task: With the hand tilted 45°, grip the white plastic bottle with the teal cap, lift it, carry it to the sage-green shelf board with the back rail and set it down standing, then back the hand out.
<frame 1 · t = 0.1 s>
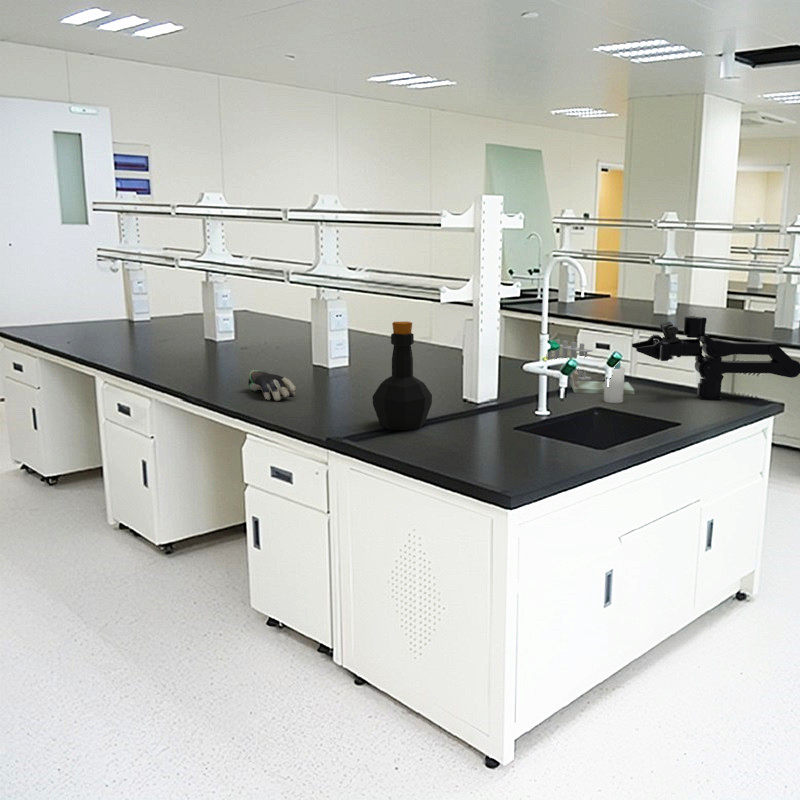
hand: (634, 347, 273), 17 cm above the countertop, tool horizontal, fingers open, 9 cm apart
white bottle: (613, 401, 269), on the countertop
bottle: (402, 426, 237), on the countertop
test tube rack: (564, 375, 316), on the countertop
glove: (272, 396, 278), on the countertop
shelf board: (601, 389, 287), on the countertop
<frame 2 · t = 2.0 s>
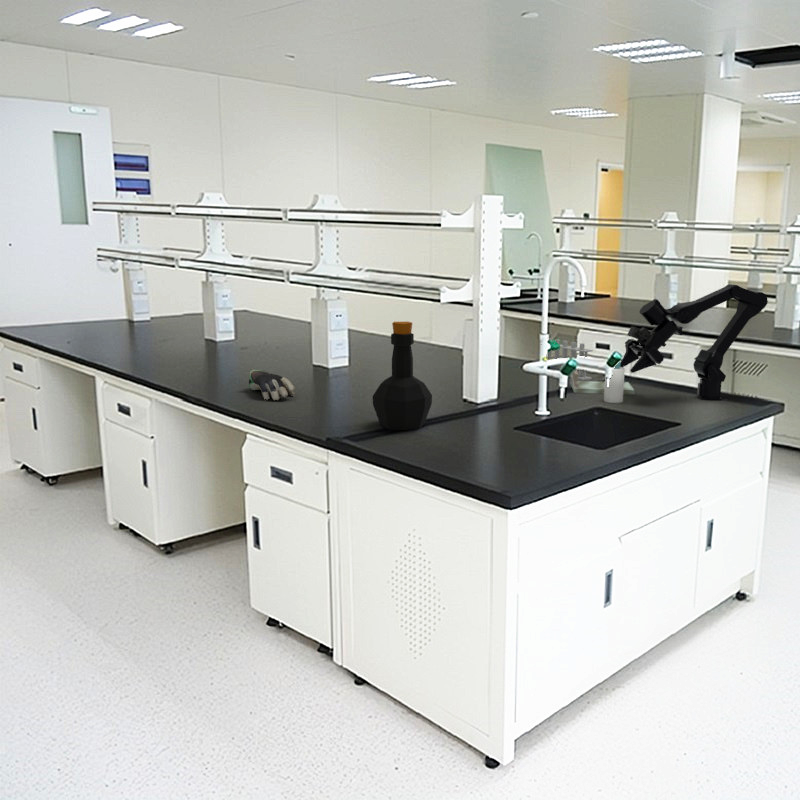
hand: (625, 369, 267), 10 cm above the countertop, tool tilted 45°, fingers open, 9 cm apart
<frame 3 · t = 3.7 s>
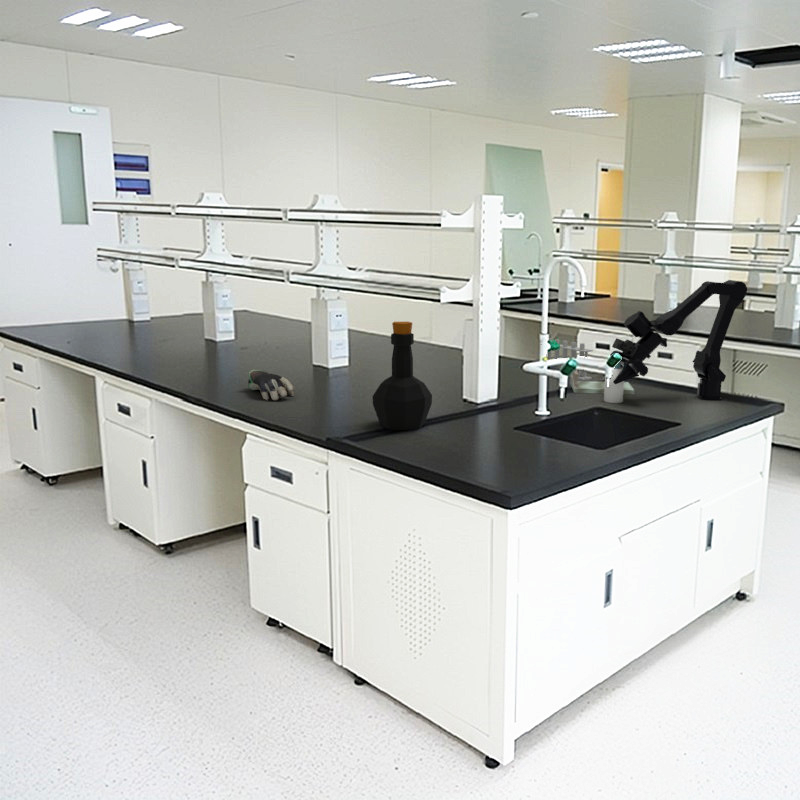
hand: (610, 381, 267), 7 cm above the countertop, tool tilted 45°, fingers closed on white bottle, 6 cm apart
white bottle: (613, 401, 269), on the countertop, touching gripper
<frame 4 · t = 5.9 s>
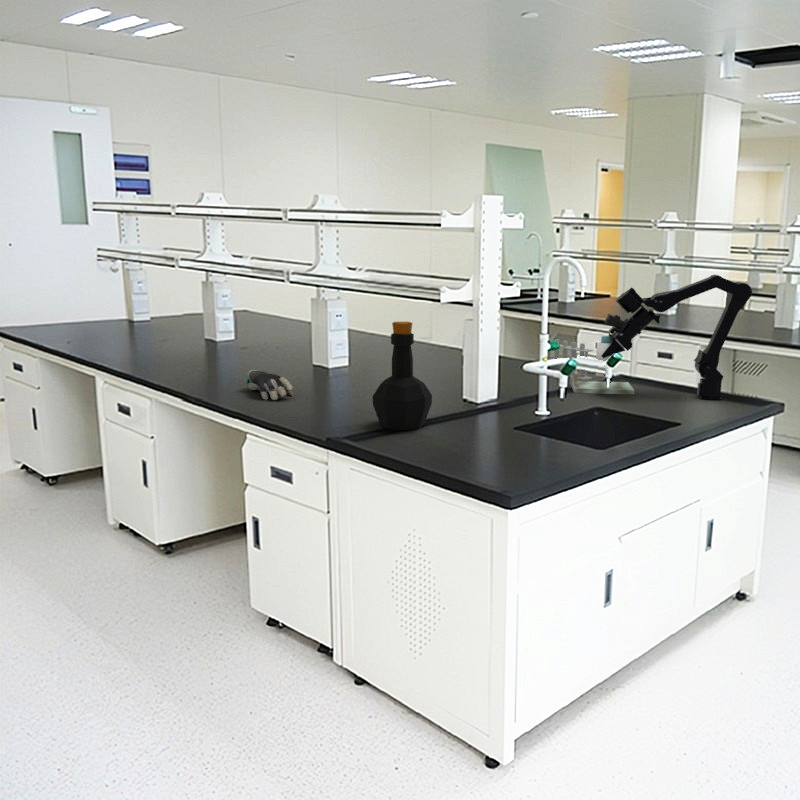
hand: (601, 355, 275), 14 cm above the countertop, tool tilted 45°, fingers closed on white bottle, 6 cm apart
white bottle: (604, 375, 276), point 7 cm above the countertop, touching gripper
when the fingers open (9 cm above the countertop, at t = 8.0 s): white bottle drops 1 cm, resting on shelf board.
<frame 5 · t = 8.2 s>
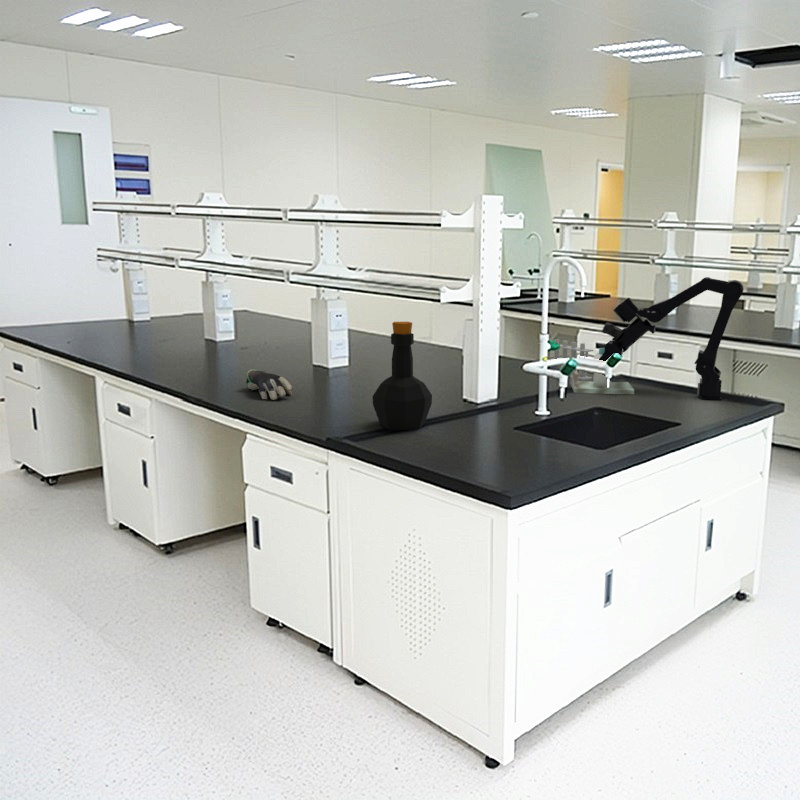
hand: (599, 362, 285), 10 cm above the countertop, tool tilted 45°, fingers open, 8 cm apart
white bottle: (601, 385, 287), point 2 cm above the countertop, touching shelf board
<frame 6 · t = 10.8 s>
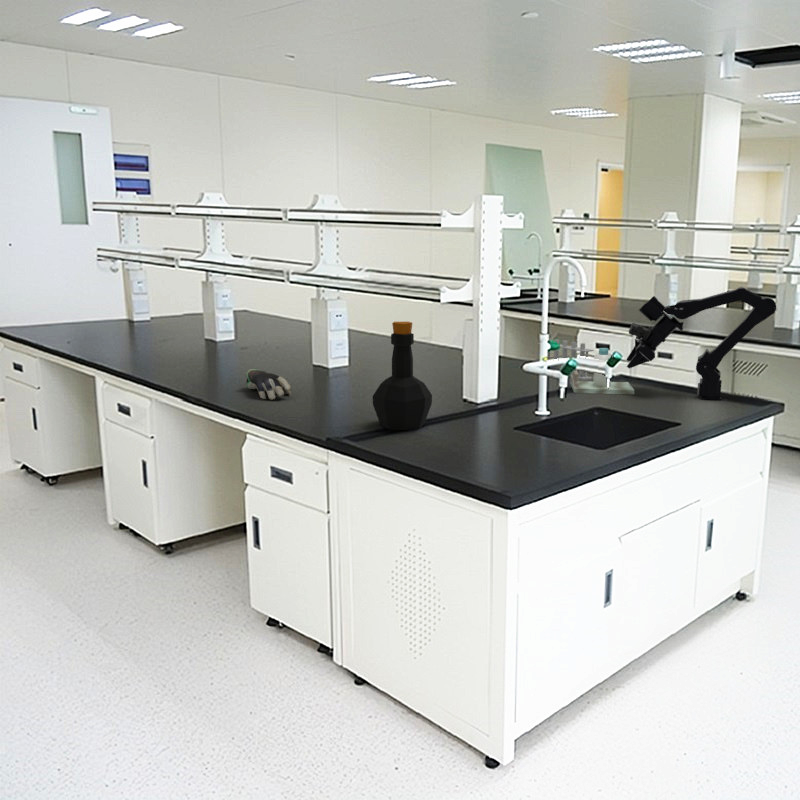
hand: (627, 364, 280), 10 cm above the countertop, tool tilted 40°, fingers open, 9 cm apart
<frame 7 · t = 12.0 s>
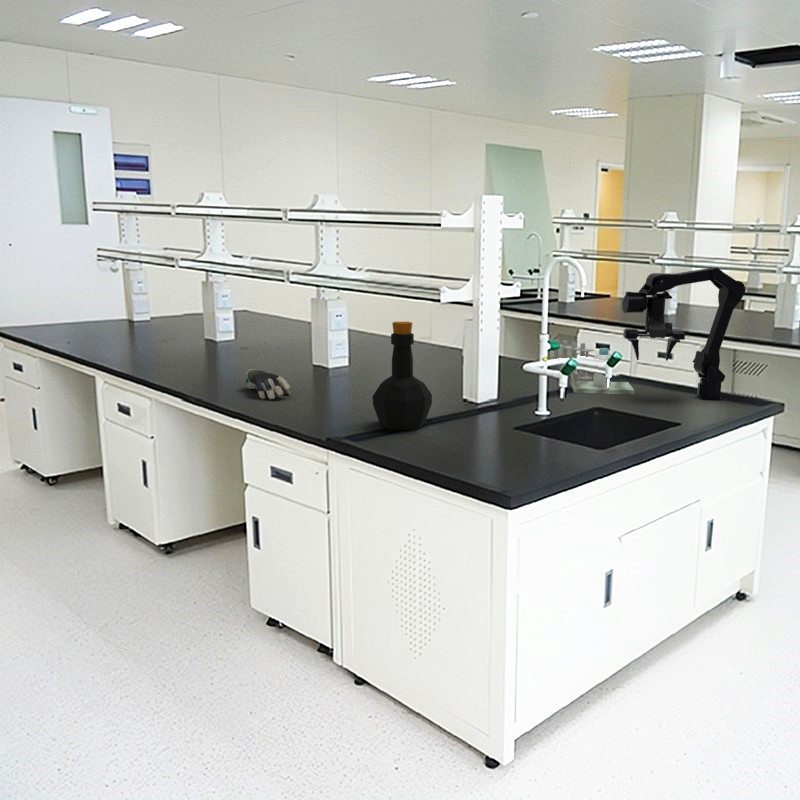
hand: (652, 360, 269), 13 cm above the countertop, tool pointing down, fingers open, 9 cm apart
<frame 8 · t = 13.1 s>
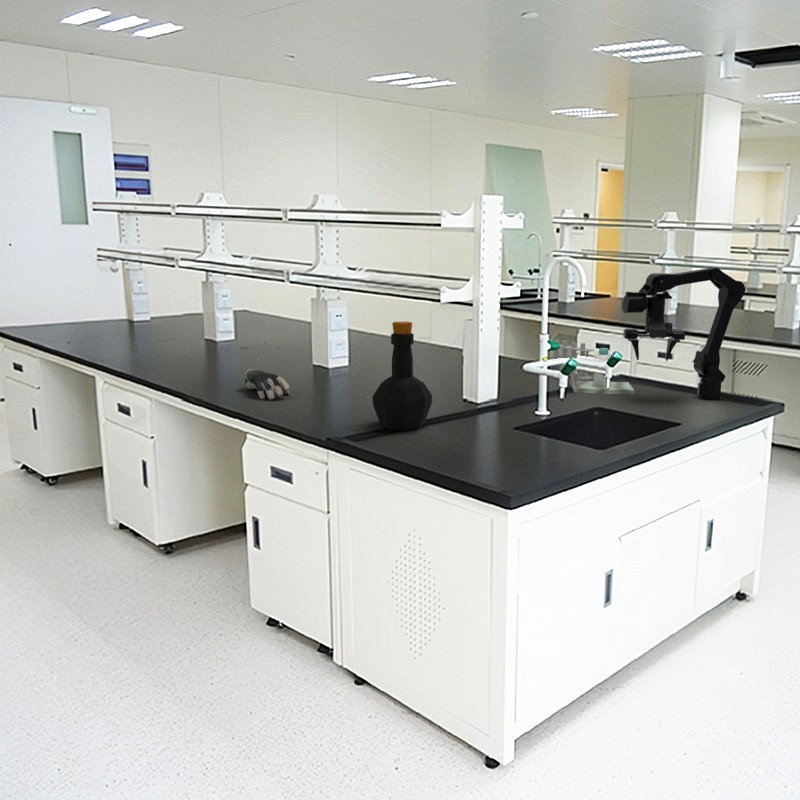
hand: (652, 360, 269), 13 cm above the countertop, tool pointing down, fingers open, 9 cm apart
at the end: white bottle inside the target area on the shelf board (0.1 cm from its centre), point 1.5 cm above the shelf board's base; white bottle tilted 0°; the gripper is holding nothing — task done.
